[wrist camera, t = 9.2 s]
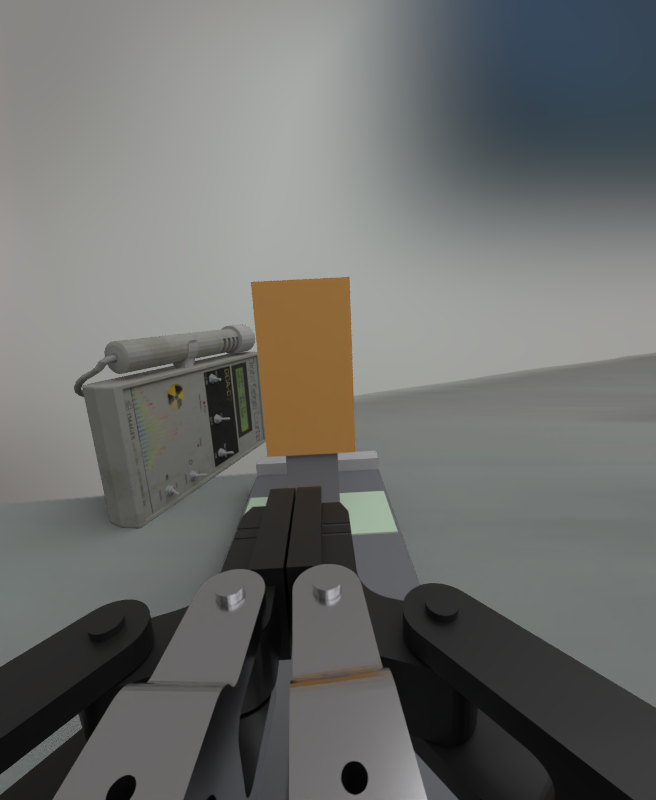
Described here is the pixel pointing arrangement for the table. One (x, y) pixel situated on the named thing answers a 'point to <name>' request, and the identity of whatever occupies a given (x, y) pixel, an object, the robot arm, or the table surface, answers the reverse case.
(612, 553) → the table surface
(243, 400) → the geiger counter
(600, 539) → the table surface
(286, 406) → the panel
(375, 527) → the console
